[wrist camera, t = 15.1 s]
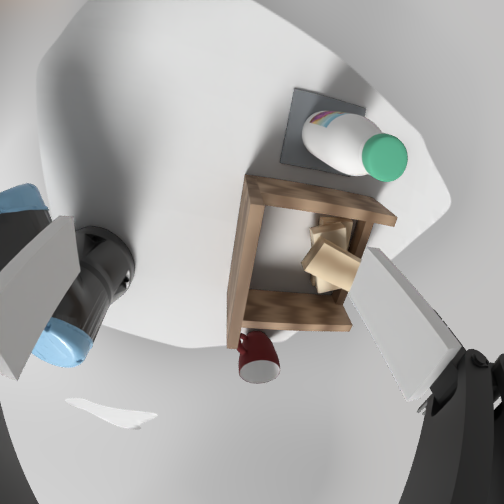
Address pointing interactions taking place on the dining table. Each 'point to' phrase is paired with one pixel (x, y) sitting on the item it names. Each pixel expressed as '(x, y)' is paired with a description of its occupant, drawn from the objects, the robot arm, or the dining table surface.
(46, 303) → the robot arm
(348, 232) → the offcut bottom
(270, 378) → the mug
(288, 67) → the dining table surface
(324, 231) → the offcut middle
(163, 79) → the dining table surface
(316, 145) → the milk bottle
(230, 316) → the rack
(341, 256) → the offcut top
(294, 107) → the mat
